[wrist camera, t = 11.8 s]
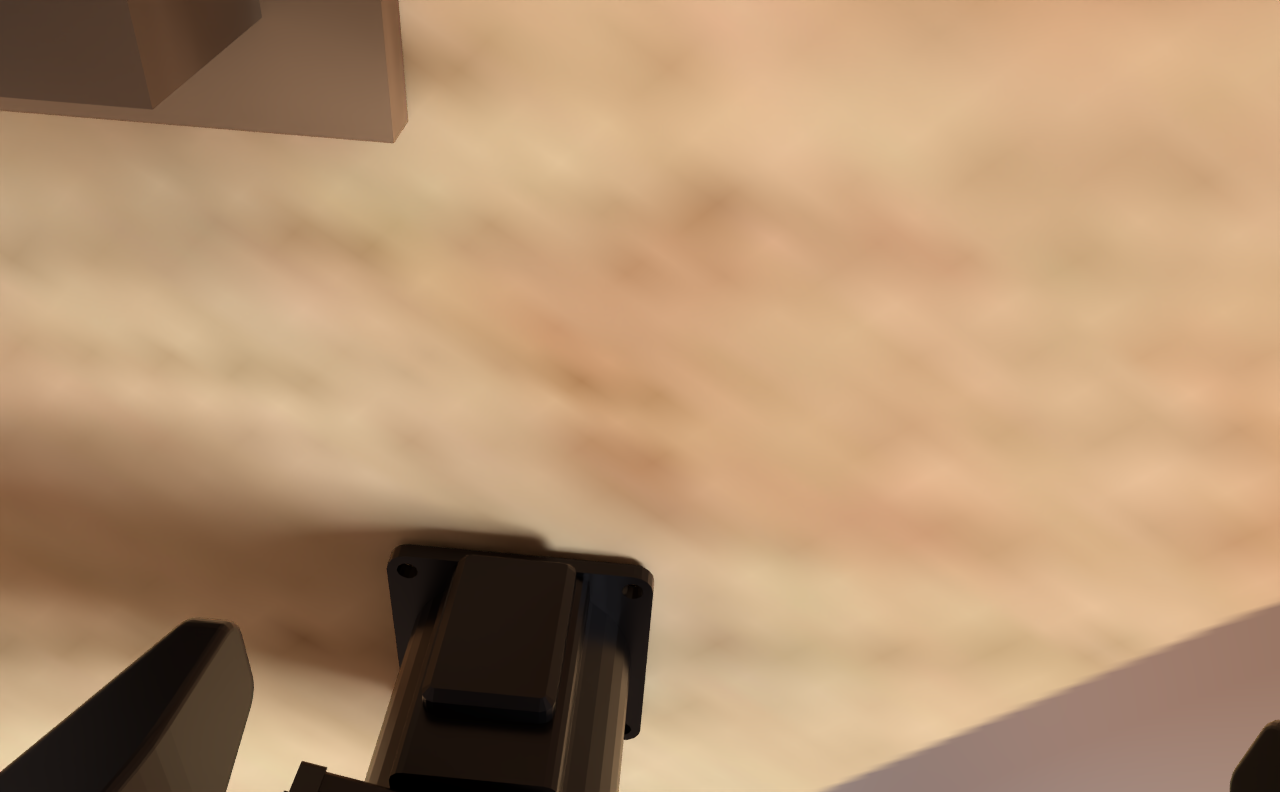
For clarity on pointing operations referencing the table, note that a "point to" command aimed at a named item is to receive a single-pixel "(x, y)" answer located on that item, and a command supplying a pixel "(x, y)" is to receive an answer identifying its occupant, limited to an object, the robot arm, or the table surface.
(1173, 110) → the table surface
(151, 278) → the table surface
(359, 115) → the display stand
